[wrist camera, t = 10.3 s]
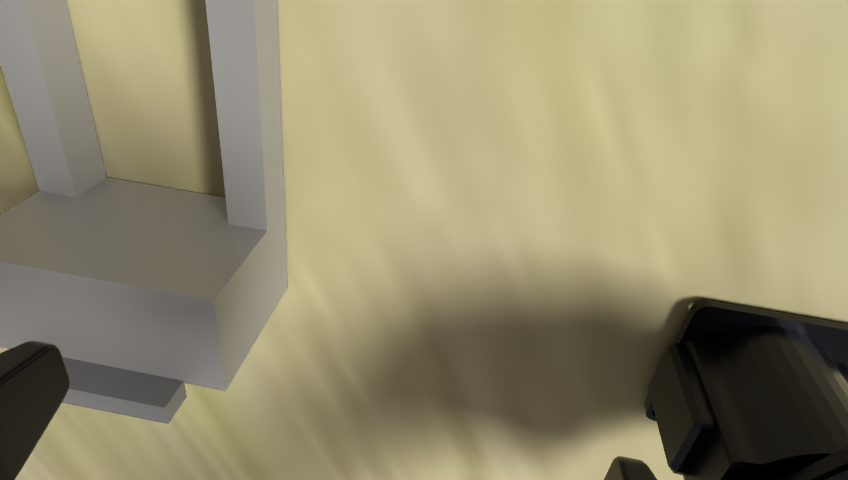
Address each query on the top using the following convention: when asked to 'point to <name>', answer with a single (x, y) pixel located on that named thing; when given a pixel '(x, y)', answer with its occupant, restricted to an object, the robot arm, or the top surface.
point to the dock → (142, 223)
